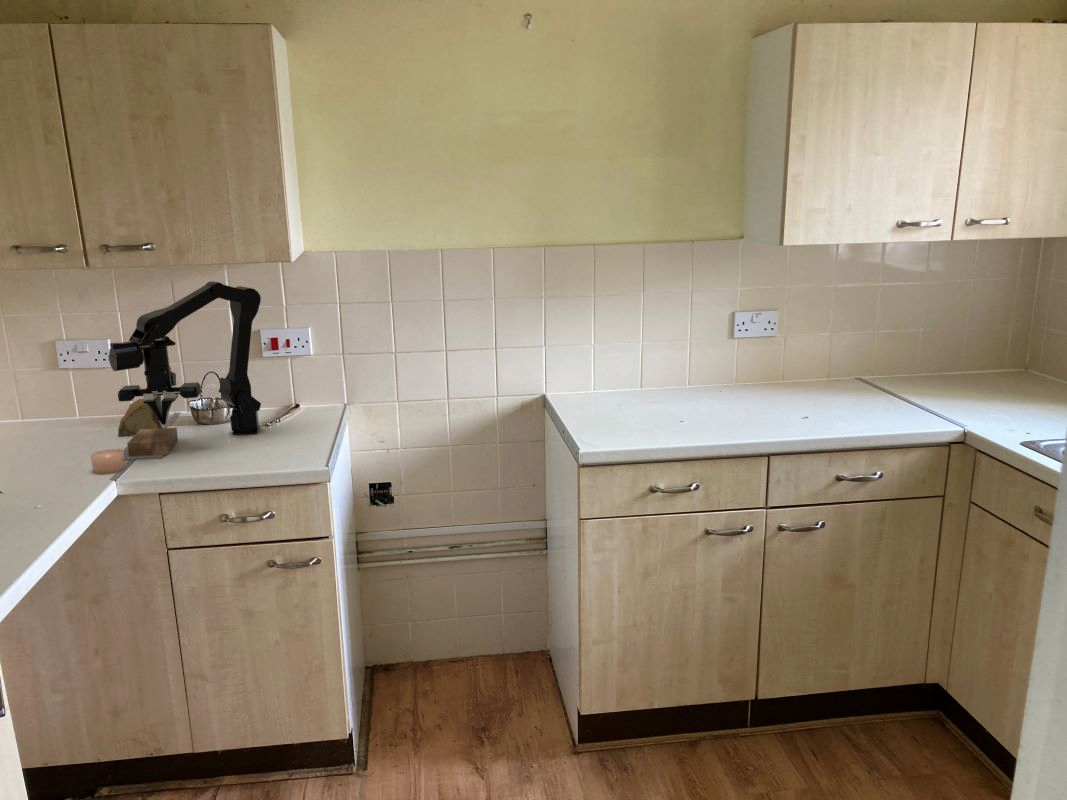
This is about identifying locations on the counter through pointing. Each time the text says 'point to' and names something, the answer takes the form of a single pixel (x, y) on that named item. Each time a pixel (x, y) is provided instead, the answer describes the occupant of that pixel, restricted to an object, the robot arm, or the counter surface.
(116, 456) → the peach rounded cylinder
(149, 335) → the robot arm
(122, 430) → the rock
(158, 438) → the slab
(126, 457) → the mat
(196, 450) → the counter surface
